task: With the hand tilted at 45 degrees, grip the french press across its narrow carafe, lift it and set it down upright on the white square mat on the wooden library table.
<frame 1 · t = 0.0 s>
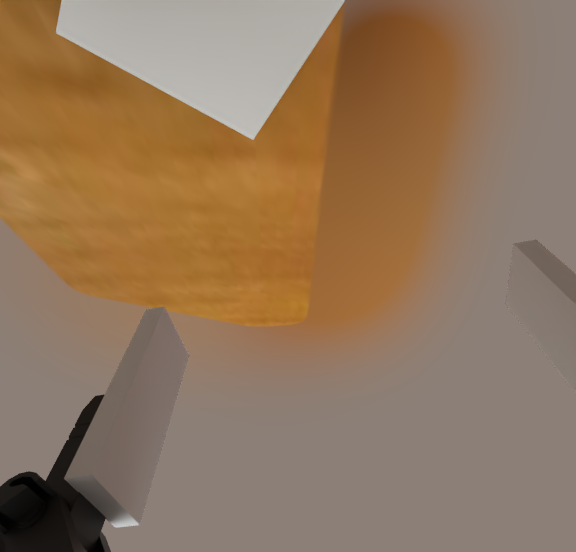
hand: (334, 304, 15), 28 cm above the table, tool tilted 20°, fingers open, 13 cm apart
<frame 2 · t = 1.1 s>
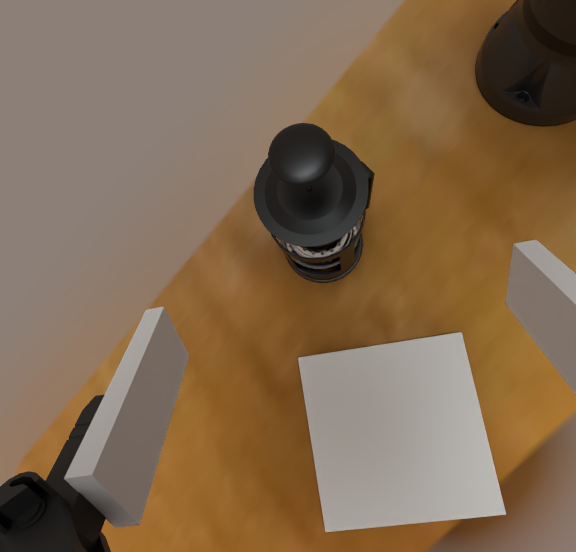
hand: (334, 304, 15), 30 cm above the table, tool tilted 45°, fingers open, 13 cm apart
white square mat: (393, 428, 41), on the table
french press: (326, 242, 46), on the table
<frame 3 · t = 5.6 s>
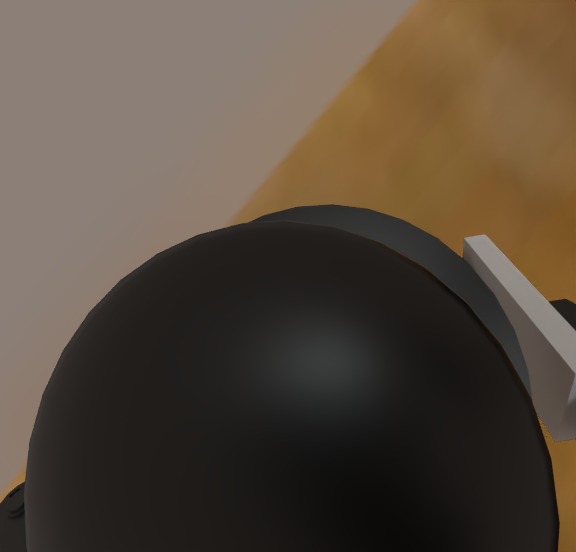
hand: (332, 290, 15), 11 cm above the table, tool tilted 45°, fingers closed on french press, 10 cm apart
french press: (343, 356, 25), on the table, touching gripper
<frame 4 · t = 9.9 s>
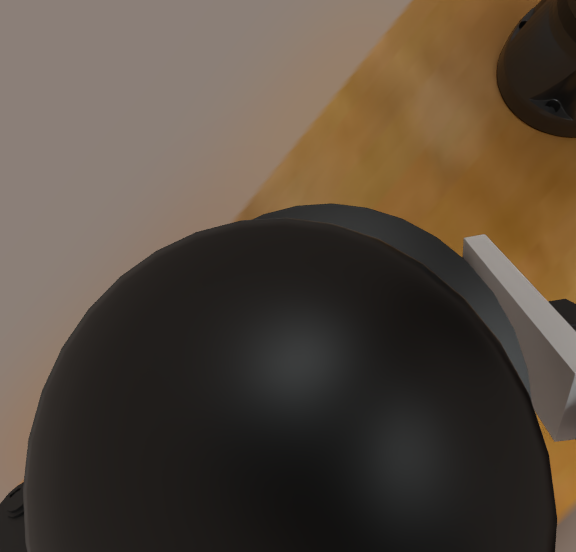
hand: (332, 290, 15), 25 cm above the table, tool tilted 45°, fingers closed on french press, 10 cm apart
french press: (343, 356, 25), point 14 cm above the table, touching gripper
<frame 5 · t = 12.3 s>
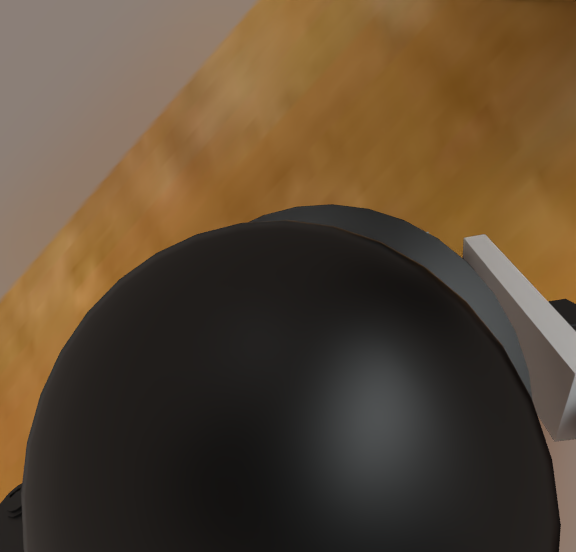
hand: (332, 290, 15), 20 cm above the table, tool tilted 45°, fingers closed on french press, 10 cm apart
french press: (343, 356, 25), point 9 cm above the table, touching gripper
when the fingers open (13 cm above the table, at t = 14.4 s): french press drops 1 cm, resting on white square mat.
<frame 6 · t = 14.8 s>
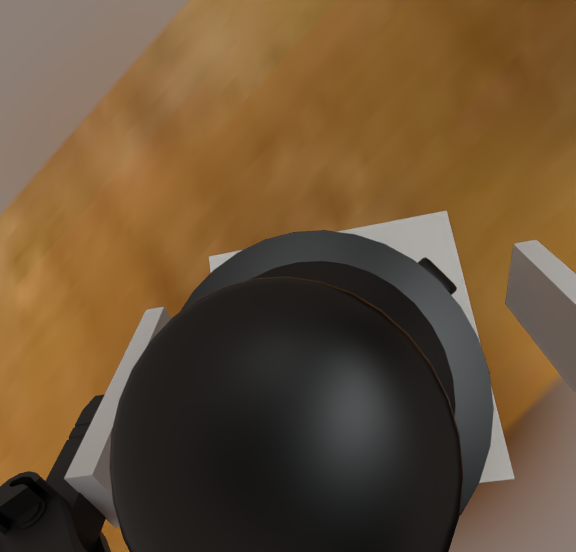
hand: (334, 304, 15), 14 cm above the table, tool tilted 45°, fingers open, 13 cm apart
white square mat: (345, 355, 27), on the table
french press: (338, 357, 27), point 1 cm above the table, touching white square mat
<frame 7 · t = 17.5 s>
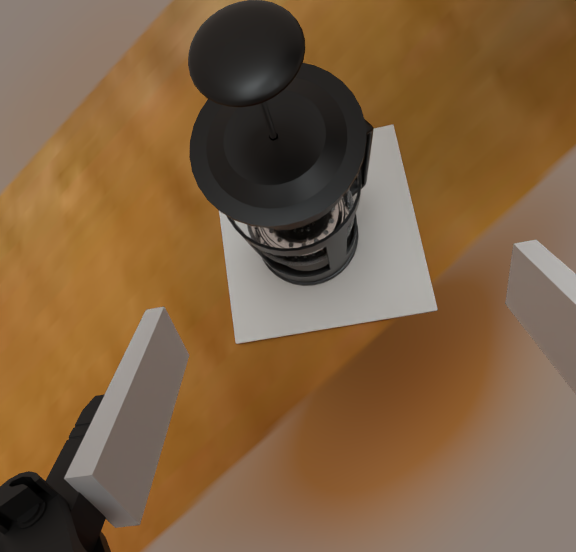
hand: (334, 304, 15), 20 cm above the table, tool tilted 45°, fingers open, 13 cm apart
white square mat: (317, 234, 36), on the table
french press: (311, 233, 35), point 1 cm above the table, touching white square mat
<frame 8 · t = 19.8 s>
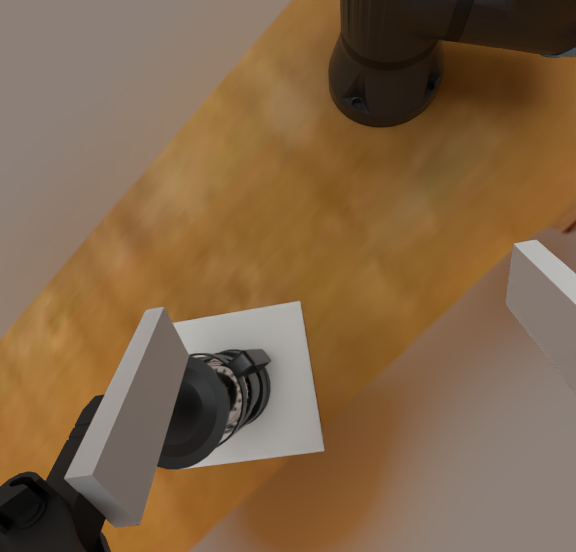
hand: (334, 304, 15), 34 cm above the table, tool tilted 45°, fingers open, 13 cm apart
white square mat: (242, 382, 48), on the table
french press: (237, 384, 47), point 1 cm above the table, touching white square mat
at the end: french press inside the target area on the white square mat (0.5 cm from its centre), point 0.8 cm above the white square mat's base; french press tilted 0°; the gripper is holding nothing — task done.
